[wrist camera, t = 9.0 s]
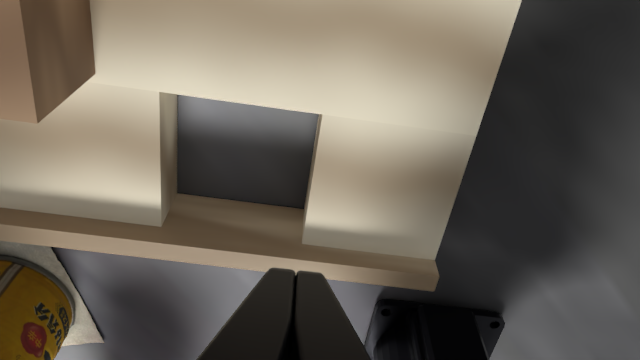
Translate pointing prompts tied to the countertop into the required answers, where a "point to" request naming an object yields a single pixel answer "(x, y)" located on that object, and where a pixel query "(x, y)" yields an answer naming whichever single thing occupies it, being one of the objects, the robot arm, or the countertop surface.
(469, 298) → the countertop surface
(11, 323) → the condiment
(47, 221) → the box
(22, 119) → the walnut block
